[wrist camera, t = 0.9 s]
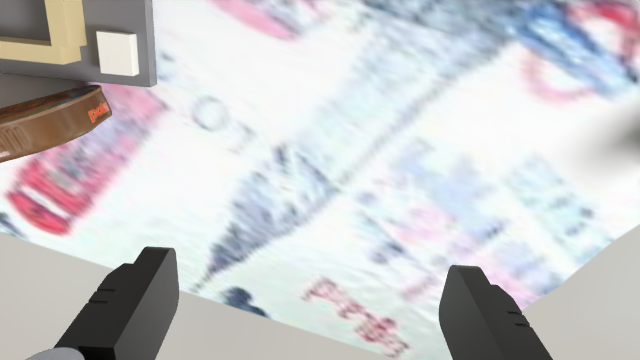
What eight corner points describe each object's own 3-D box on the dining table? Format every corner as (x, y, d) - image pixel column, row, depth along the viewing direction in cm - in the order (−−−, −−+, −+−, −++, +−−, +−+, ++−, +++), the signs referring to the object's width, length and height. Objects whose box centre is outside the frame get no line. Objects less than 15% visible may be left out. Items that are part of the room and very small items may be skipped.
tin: (118, 77, 33) (59, 98, 26) (133, 113, 35) (82, 143, 27) (-44, 120, 34) (-146, 152, 27) (-23, 153, 36) (-115, 193, 28)
